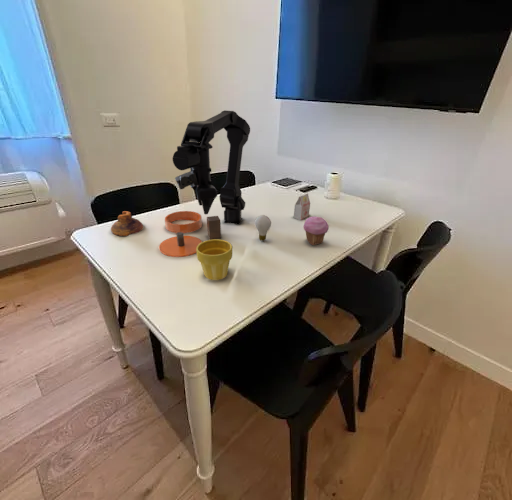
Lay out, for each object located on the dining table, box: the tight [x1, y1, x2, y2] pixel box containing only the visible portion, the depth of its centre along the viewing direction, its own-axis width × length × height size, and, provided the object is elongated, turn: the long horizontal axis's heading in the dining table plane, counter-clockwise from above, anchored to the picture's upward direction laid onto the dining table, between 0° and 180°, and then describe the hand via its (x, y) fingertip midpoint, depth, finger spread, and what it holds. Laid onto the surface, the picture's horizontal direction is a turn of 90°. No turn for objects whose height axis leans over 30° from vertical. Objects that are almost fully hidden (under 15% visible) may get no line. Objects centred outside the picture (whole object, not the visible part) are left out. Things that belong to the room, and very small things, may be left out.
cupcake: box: [302, 215, 330, 246], centre depth 110 cm, size 9×9×10 cm
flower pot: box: [196, 239, 233, 281], centre depth 90 cm, size 10×10×10 cm
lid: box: [158, 232, 203, 258], centre depth 105 cm, size 15×15×6 cm
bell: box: [110, 210, 144, 237], centre depth 117 cm, size 12×12×7 cm
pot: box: [164, 210, 203, 234], centre depth 121 cm, size 14×14×4 cm
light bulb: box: [254, 214, 272, 242], centre depth 110 cm, size 6×6×10 cm
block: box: [206, 215, 222, 240], centre depth 112 cm, size 4×4×8 cm
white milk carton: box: [293, 193, 311, 221], centre depth 132 cm, size 4×7×10 cm, turn 139°
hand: (203, 209), depth 106 cm, fingers open, 9 cm apart
